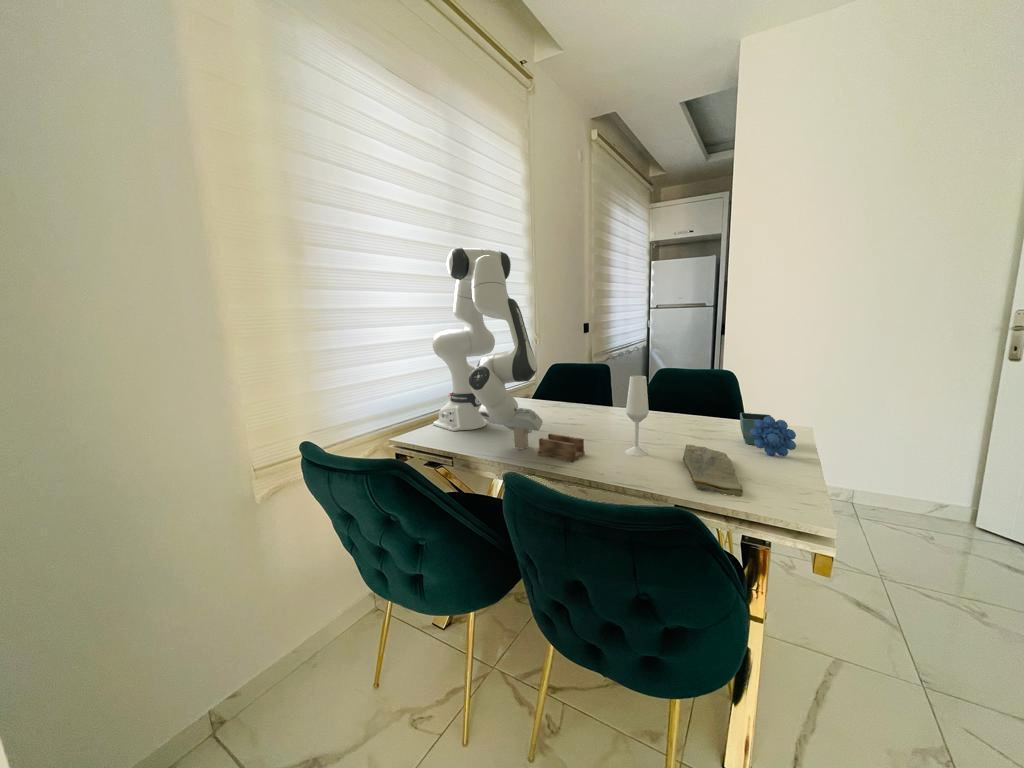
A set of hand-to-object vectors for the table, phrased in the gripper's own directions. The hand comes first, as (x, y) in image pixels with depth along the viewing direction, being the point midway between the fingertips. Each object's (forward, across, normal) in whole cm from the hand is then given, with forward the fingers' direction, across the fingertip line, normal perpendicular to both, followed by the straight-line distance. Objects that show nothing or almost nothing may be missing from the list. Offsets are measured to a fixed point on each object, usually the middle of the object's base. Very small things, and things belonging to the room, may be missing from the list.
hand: (521, 430), depth 131 cm
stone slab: (+11, -55, -2) cm, 56 cm away
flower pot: (+34, -64, -25) cm, 77 cm away
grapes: (+25, -69, -17) cm, 75 cm away
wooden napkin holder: (+4, -15, +4) cm, 16 cm away
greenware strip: (+4, 0, +4) cm, 6 cm away
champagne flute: (+14, -34, -6) cm, 37 cm away
